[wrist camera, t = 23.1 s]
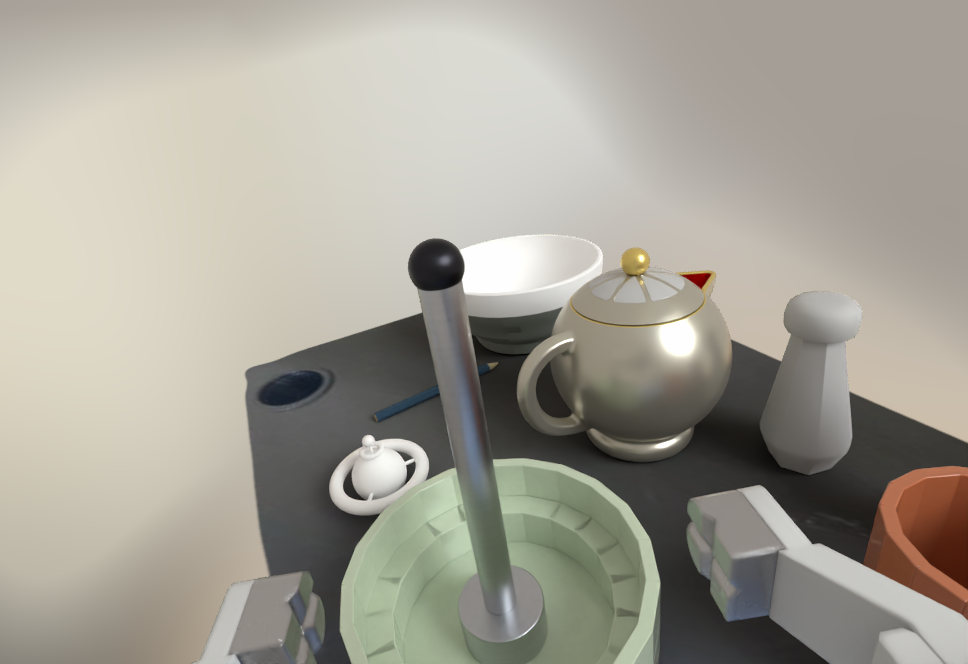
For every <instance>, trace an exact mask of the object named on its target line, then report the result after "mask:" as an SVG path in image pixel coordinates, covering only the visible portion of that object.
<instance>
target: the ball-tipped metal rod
mask: <svg viewBox="0 0 968 664" xmlns="http://www.w3.org/2000/svg"><path fill="white" fill-rule="evenodd" d="M408 271H409V275H410V278H411V280H412V282H413V283H414V285H415V286H416V287H417V289H418V294H419V298H420V303H421V308H422V312H423V317H424V322H425V326H426V331H427V336H428V341H429V345H430V350H431V355H432V359H433V364H434V369H435V373H436V378H437V383H438V388H439V392H440V397H441V402H442V406H443V411H444V416H445V421H446V425H447V430H448V435H449V439H450V444H451V449H452V453H453V458H454V463H455V468H456V472H457V477H458V482H459V486H460V491H461V496H462V500H463V505H464V510H465V515H466V519H467V524H468V529H469V533H470V538H471V543H472V547H473V552H474V557H475V562H476V566H477V571H478V572H477V573H476V574H475V575H473V576H472V577H471V578H470V579H469V580H468V581H467V583H466V584H465V586H464V587H463V589H462V591H461V594H460V597H459V601H458V613H459V618H460V622H461V626H462V630H463V634H464V638H465V642H466V645H467V647H468V650H469V651H470V653H471V654H472V655H473V657H474V658H475V659H476V660H478V661H479V662H480V663H482V664H526V663H528V662H529V661H531V660H532V659H533V658H534V657H535V656H536V655H537V654H538V653H539V651H540V650H541V648H542V646H543V645H544V642H545V640H546V636H547V618H546V610H545V603H544V596H543V592H542V588H541V586H540V584H539V583H538V581H537V580H536V579H535V577H534V576H533V575H532V574H530V573H529V572H528V571H526V570H525V569H522V568H520V567H517V566H514V565H511V563H510V557H509V551H508V545H507V540H506V534H505V528H504V522H503V516H502V510H501V504H500V499H499V493H498V487H497V481H496V475H495V469H494V463H493V458H492V452H491V446H490V440H489V434H488V428H487V422H486V417H485V411H484V405H483V399H482V393H481V387H480V381H479V376H478V370H477V364H476V358H475V352H474V346H473V340H472V335H471V329H470V323H469V317H468V311H467V305H466V299H465V294H464V288H463V282H462V278H463V275H464V271H465V264H464V259H463V256H462V254H461V252H460V251H459V249H458V248H457V247H456V246H455V245H454V244H452V243H451V242H449V241H446V240H443V239H429V240H426V241H424V242H422V243H420V244H419V245H418V246H417V247H416V248H415V249H414V250H413V252H412V253H411V255H410V258H409V262H408Z"/></svg>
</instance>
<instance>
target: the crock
mask: <svg viewBox="0 0 968 664" xmlns="http://www.w3.org/2000/svg"><path fill="white" fill-rule="evenodd" d="M863 565H864V566H866V567H868V568H870V569H872V570H874V571H876V572H878V573H880V574H882V575H884V576H886V577H888V578H890V579H892V580H894V581H896V582H898V583H900V584H902V585H904V586H906V587H908V588H910V589H912V590H914V591H916V592H918V593H920V594H922V595H924V596H926V597H928V598H930V599H932V600H934V601H936V602H938V603H940V604H942V605H944V606H946V607H948V608H950V609H952V610H954V611H956V612H958V613H960V614H962V615H963V616H964V617H965V618H966V619H967V620H968V468H965V467H957V466H954V467H953V466H948V467H937V468H926V469H916V470H913V471H911V472H909V473H907V474H905V475H903V476H901V477H899V478H897V479H895V480H893V481H891V482H890V483H889V484H888V485H887V487H886V489H885V492H884V494H883V496H882V498H881V500H880V502H879V504H878V508H877V512H876V516H875V520H874V524H873V528H872V532H871V536H870V540H869V544H868V547H867V551H866V555H865V559H864V563H863Z"/></svg>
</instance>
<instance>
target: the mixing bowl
mask: <svg viewBox="0 0 968 664" xmlns="http://www.w3.org/2000/svg"><path fill="white" fill-rule="evenodd" d="M493 463H494V469H495V475H496V481H497V487H498V493H499V499H500V504H501V510H502V516H503V522H504V528H505V534H506V540H507V545H508V551H509V557H510V563H511V565H514V566H517V567H520V568H522V569H525V570H526V571H528V572H529V573H530V574H532V575H533V576H534V577H535V579H536V580H537V581H538V583H539V584H540V586H541V588H542V592H543V596H544V603H545V610H546V618H547V636H546V640H545V642H544V645H543V646H542V648H541V650H540V651H539V653H538V654H537V655H536V656H535V657H534V658H533V659H532V660H531V661H529V662H528V663H526V664H658V660H659V653H660V578H659V574H658V569H657V565H656V561H655V556H654V552H653V547H652V543H651V540H650V538H649V536H648V535H647V533H646V532H645V530H644V529H643V527H642V526H641V524H640V523H639V521H638V519H637V518H636V516H635V515H634V513H633V512H632V510H631V509H630V507H629V506H628V505H627V504H626V503H625V502H624V501H623V500H622V499H620V498H619V497H618V496H617V495H615V494H614V493H613V492H612V491H610V490H609V489H608V488H607V487H606V486H604V485H603V484H602V483H601V482H599V481H598V480H597V479H594V478H592V477H590V476H587V475H585V474H583V473H581V472H578V471H576V470H574V469H571V468H569V467H567V466H564V465H561V464H556V463H550V462H544V461H538V460H533V459H527V458H525V459H524V458H517V459H495V460H493ZM477 572H478V571H477V566H476V562H475V557H474V552H473V547H472V543H471V538H470V533H469V529H468V524H467V519H466V515H465V510H464V505H463V500H462V496H461V491H460V486H459V482H458V477H457V472H456V468H452V469H449V470H446V471H444V472H442V473H440V474H438V475H436V476H434V477H432V478H430V479H428V480H426V481H424V482H422V483H420V484H418V485H416V486H414V487H412V488H411V489H410V490H408V491H407V492H406V493H405V494H403V495H402V496H401V497H400V498H398V499H397V500H396V501H395V502H393V503H392V504H391V505H390V506H389V507H387V508H386V509H385V510H384V511H382V513H381V514H380V515H379V516H378V518H377V519H376V520H375V522H374V523H373V524H372V526H371V527H370V528H369V530H368V531H367V532H366V534H365V535H364V536H363V538H362V539H361V540H360V541H359V543H358V544H357V546H356V548H355V550H354V553H353V555H352V558H351V561H350V563H349V566H348V568H347V571H346V573H345V576H344V579H343V581H342V584H341V585H342V586H341V604H340V633H341V636H342V639H343V642H344V644H345V647H346V650H347V653H348V656H349V658H350V661H351V664H482V663H480V662H479V661H478V660H476V659H475V658H474V657H473V655H472V654H471V653H470V651H469V650H468V647H467V645H466V642H465V638H464V634H463V630H462V626H461V622H460V618H459V613H458V601H459V597H460V594H461V591H462V589H463V587H464V586H465V584H466V583H467V581H468V580H469V579H470V578H471V577H472V576H473V575H475V574H476V573H477Z"/></svg>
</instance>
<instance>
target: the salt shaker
mask: <svg viewBox="0 0 968 664" xmlns="http://www.w3.org/2000/svg"><path fill="white" fill-rule="evenodd" d="M861 321H862V308H861V307H860V306H859V305H858V303H857V302H856V301H855V300H853V299H852V298H850V297H848V296H845V295H843V294H839V293H834V292H828V291H813V292H804V293H802V294H799V295H797V296H795V297H793V298H792V299H791V300H790V301H789V303H788V304H787V306H786V309H785V312H784V325H785V327H786V329H787V331H788V332H789V333H790V334H791V337H790V339H789V342H788V345H787V348H786V351H785V353H784V356H783V359H782V362H781V365H780V367H779V370H778V373H777V376H776V379H775V381H774V384H773V387H772V390H771V393H770V395H769V398H768V401H767V404H766V407H765V409H764V412H763V415H762V418H761V421H760V430H761V433H762V436H763V438H764V441H765V443H766V445H767V448H768V450H769V452H770V453H771V455H772V456H773V457H774V459H775V460H776V461H777V463H778V464H779V465H780V467H783V468H786V469H790V470H793V471H796V472H800V473H803V474H806V475H811V474H814V473H818V472H821V471H825V470H828V469H831V468H832V467H833V466H834V465H835V464H836V463H837V462H838V461H839V460H840V459H841V458H842V457H843V456H844V455H845V454H846V453H847V452H848V450H849V448H850V444H851V440H852V424H851V412H850V399H849V387H848V374H847V361H846V345H845V341H848V340H850V339H852V338H854V337H855V336H856V334H857V333H858V331H859V328H860V324H861Z"/></svg>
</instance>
